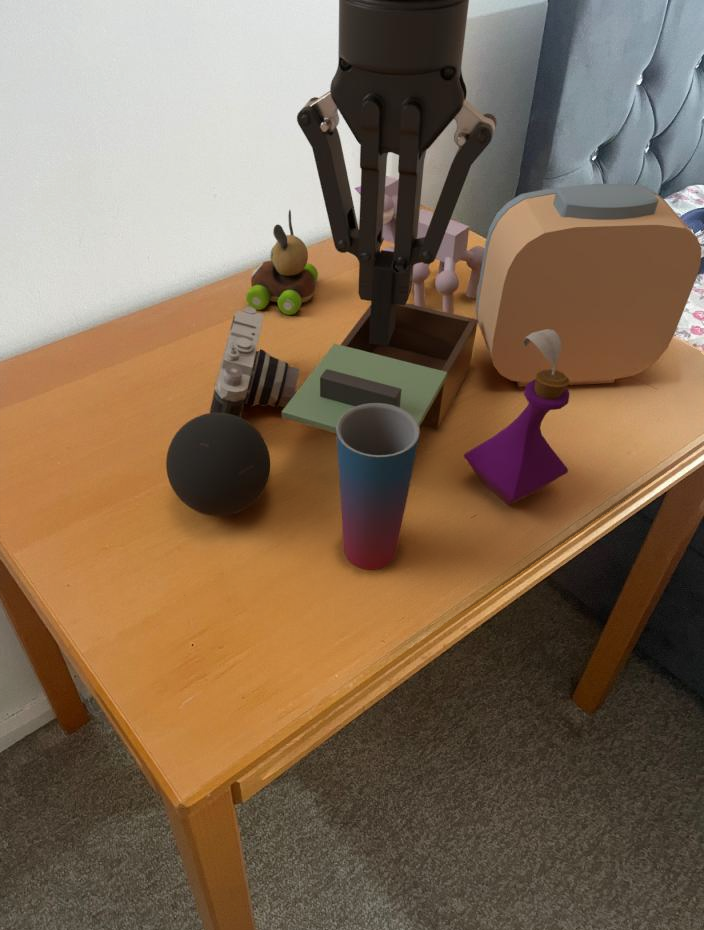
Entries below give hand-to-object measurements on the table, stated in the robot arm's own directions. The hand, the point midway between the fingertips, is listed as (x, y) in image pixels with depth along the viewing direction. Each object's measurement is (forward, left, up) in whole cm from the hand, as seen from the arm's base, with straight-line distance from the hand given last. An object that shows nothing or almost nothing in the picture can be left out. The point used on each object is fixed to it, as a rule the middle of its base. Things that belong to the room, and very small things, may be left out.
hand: (382, 335), depth 60 cm
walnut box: (+4, -22, -21) cm, 30 cm away
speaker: (+14, +4, -21) cm, 26 cm away
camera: (+18, -11, -21) cm, 30 cm away
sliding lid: (+4, -9, -14) cm, 17 cm away
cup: (-2, +4, -21) cm, 21 cm away
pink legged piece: (+11, -43, -21) cm, 49 cm away
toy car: (+26, -34, -21) cm, 48 cm away
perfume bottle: (-12, -10, -21) cm, 26 cm away
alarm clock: (-12, -33, -21) cm, 41 cm away
